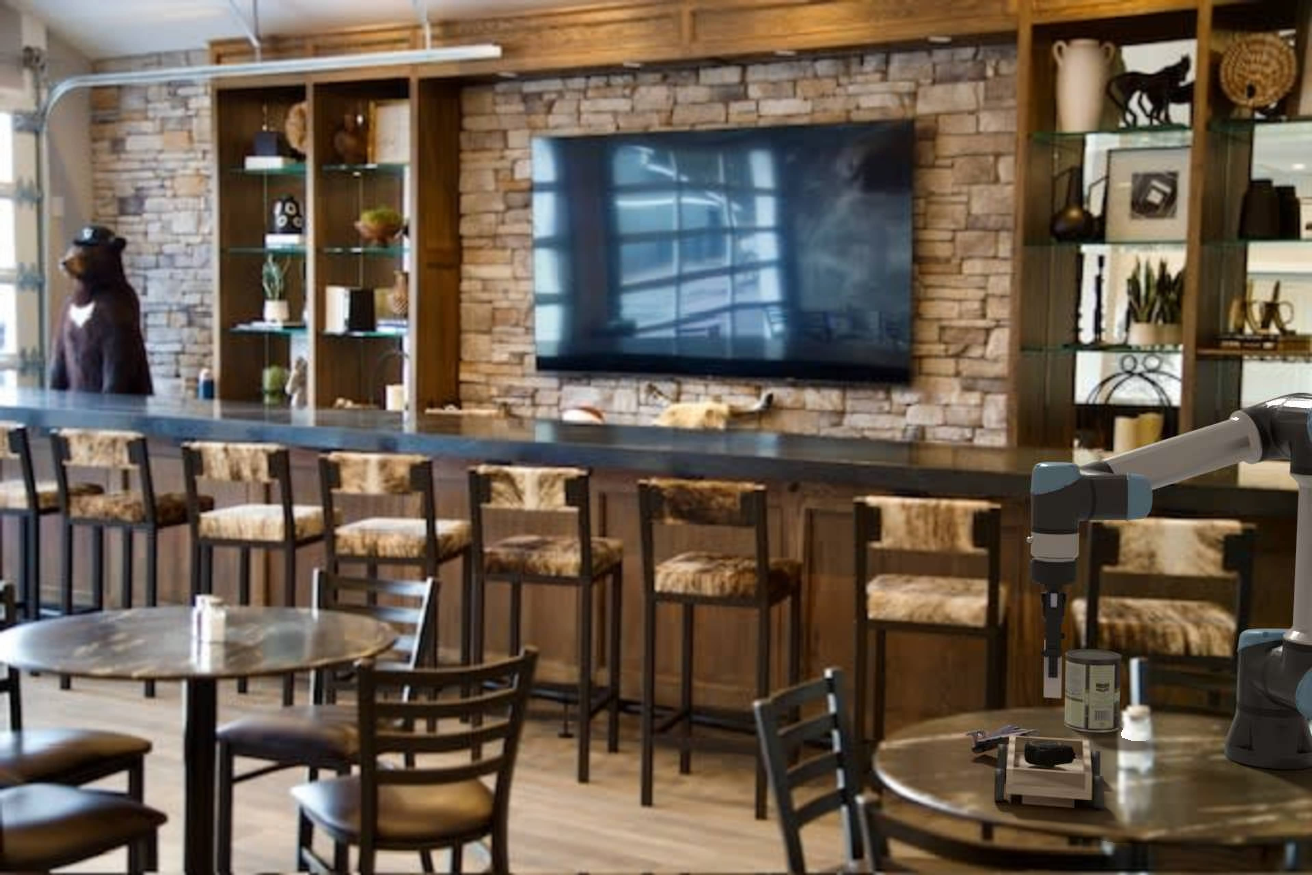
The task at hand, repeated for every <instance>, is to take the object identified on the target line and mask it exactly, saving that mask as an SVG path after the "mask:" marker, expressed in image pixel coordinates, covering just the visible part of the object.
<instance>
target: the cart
mask: <svg viewBox="0 0 1312 875" xmlns="http://www.w3.org/2000/svg"><path fill="white" fill-rule="evenodd" d="M1036 740H1049V741H1056V742H1060V743H1062V744H1064V745H1067V746H1071V747H1072V748H1073V751H1074V753H1076V755H1075V757H1076V758H1075V759H1073V762H1072V763H1070V764H1062V765H1055V766H1054V767H1053V768H1048V767H1046V766H1040V765H1032V764H1029V763H1027V762H1026V761H1025V757H1024V748H1025V744H1026V743H1027V742H1030V741H1036ZM996 762H997V763H996V764H997V766H996V768H995V769H994V795H993V796H994V798H993V799H994V801H998V802H1004V797H1005V795H1006V794H1007V795H1021V797H1022V799H1021V805H1022V804H1023V805H1035V806H1048V807H1059V808H1060V807H1061V808H1073V809H1074V808H1075V800H1085V801H1086V800H1087V801H1092V808H1093V809H1100V810H1101V809H1104V794H1105V793H1104V786H1105V785H1104V782H1105V781H1104V775H1101V751H1100V750H1093V749H1090V742H1089V740H1088V739H1087V740H1086V739H1072V738H1058V737H1043V736H1016V735H1010V737H1009V744H1008V745H1006V744H998V748H997V761H996ZM1005 776H1006V778H1005ZM1005 779H1006V780H1005Z"/></svg>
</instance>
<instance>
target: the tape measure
mask: <svg viewBox="0 0 1312 875" xmlns="http://www.w3.org/2000/svg"><path fill="white" fill-rule="evenodd" d="M1075 755H1076V753H1074V751H1073V748H1072V747H1071V746H1067V745H1064V744H1062V743H1060V742H1056V741H1049V740H1036V741H1030V742H1027V743H1026V744H1025V748H1024V757H1025V761H1026V762H1027V763H1029V764H1032V765H1040V766H1046V767H1048V768H1053V767H1054V766H1055V765H1062V764H1070V763H1072V762H1073V759H1075V758H1076V757H1075Z"/></svg>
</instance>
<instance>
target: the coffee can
mask: <svg viewBox="0 0 1312 875" xmlns="http://www.w3.org/2000/svg"><path fill="white" fill-rule="evenodd" d="M1122 658H1123V655H1122V654H1120V653H1118V652H1114V651H1109V650H1105V649H1104V650H1102V649H1088V648H1087V649H1086V648H1085V649H1073V650H1072V649H1071V650H1068V651H1066V652H1065V687H1064V688H1065V690H1064V691H1065V694H1064V695H1065V696H1064V697H1065V698H1064V726H1065V727H1068V728H1070V729H1072V730H1076V731H1080V732H1088V733H1110V732H1115V731H1117V730H1119V729H1120V705H1121V704H1120V702H1121V701H1120V699H1121V671H1122V670H1121V668H1122V667H1121V666H1122V664H1121V662H1122Z"/></svg>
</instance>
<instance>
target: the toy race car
mask: <svg viewBox="0 0 1312 875" xmlns="http://www.w3.org/2000/svg"><path fill="white" fill-rule="evenodd" d="M979 734H980V735H981V736H982V739H979ZM1010 735H1016V736H1031V737H1033V736H1036V735H1040V729H1038V728H1037V729H1035V728H1034V729H1028V728H1027V729H1026V728H1020V727H1019V726H1015V727H1014V726H1013V724H1012V725H1011V724H1009V725H1007V726H1004V727H1002V728H1000V729H997V731H995V732H993V733H992V734H990V735H988V734H987V732H986V731H985V730H984V729H979V730H974V731H970V732H968V733H966V734H965V736H971V737H972V738H973V741H974V746H973V747H971V748H970V750H971V751H972V753H974V754H976V755H977V754H978V755H979V754H983V753H986V752H989V751H990V752H991V751H994V750H998V744H1006V745H1007V746H1009V737H1010Z"/></svg>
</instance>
